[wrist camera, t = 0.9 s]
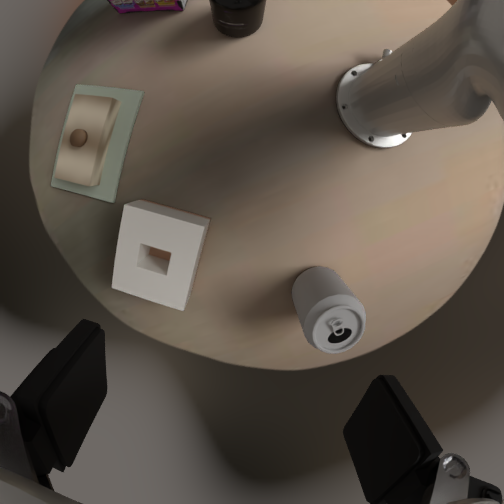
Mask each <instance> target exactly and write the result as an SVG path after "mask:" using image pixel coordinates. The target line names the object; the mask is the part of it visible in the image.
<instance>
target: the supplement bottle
mask: <svg viewBox="0 0 504 504" xmlns="http://www.w3.org/2000/svg"><path fill="white" fill-rule="evenodd" d="M209 1H210V6H211V11H212V16H213V21H214V25H215V27H216V28H217V29H218V30H219V31H220V32H221V33H223V34H225V35H227V36H231V37H244V36H248V35H251V34H253V33H254V32H256V31H257V30H258V29H259V28H260V26H261V24H262V21H263V16H264V10H265V4H266V0H209Z"/></svg>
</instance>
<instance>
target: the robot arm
mask: <svg viewBox="0 0 504 504" xmlns="http://www.w3.org/2000/svg"><path fill="white" fill-rule="evenodd" d="M352 74H353V75H352ZM491 101H493V103H494V105H495V106H496V108H497V110H498V112H499V114H500V116H501V117H502V119H503V120H504V0H458V1H457V2H456V3H455V4H454V5H453V6H452V7H451V8H450V9H449V10H448V11H447V12H446V13H445V14H444V15H443V16H442V17H441V18H439V19H438V20H437V21H436V22H435V23H433V24H432V25H430V26H429V27H428V28H426V29H425V30H424V31H422V32H421V33H419V34H418V35H416V36H415V37H414V38H412V39H411V40H409V41H408V42H406V43H405V44H404V45H402V46H401V47H399V48H398V49H396V50H395V51H393V52H392V51H391V50H388V49H384V51H383V55H382V60H379V61H378V62H377V63H375V64H361V65H357V66H355V67H353V68H351V69H350V70H349V71H347V72H346V73H345V74H344V75H343V77H342V78H341V80H340V82H339V83H338V87H337V90H336V103H337V109H338V112H339V115H340V117H341V119H342V121H343V123H344V124H345V126H346V127H347V129H348V130H349V131H350V132H351V133H352V134H353V135H354V136H355V137H356V138H357V139H359V140H360V141H362V142H363V143H365V144H367V145H370V146H373V147H376V148H391V147H395V146H398V145H400V144H402V143H404V142H405V141H406V140H407V139H408V138H409V137H410V135H411V134H412V132H419V131H425V130H432V129H439V128H447V127H455V126H463V125H468V124H471V123H473V122H475V121H477V120H478V119H479V118H480V117H482V115H483V114H484V113H485V112H486V110H487V109H488V107H489V105H490V103H491ZM342 106H343V107H344V109H343V108H342ZM368 138H370V141H369V139H368ZM106 394H107V378H106V360H105V333H104V330H102V329H101V328H100V325H99V324H98V323H95V322H92V321H89V320H86V319H83V320H81V321H80V322H79V324H77V325H76V327H75V328H74V329H73V330H72V331H71V332H70V333H69V334H68V335H67V336H66V337H65V338H64V339H63V341H62V342H61V343H60V344H59V345H58V346H57V347H56V348H53V349H52V350H51V351H49V353H48V354H47V355H46V356H45V357H44V358H43V359H42V360H41V362H40V363H39V364H38V365H37V366H36V367H35V368H34V369H33V371H32V372H31V373H30V374H29V375H28V376H27V377H26V379H25V380H24V381H23V382H22V384H21V385H20V386H19V387H18V388H17V389H16V391H15V392H14V393H13V394H12V395H11V397H10V396H8V395H7V394H5V393H3V392H1V391H0V504H82V503H79V502H77V501H75V500H72V499H70V498H68V497H65V496H63V495H61V494H59V493H57V492H55V491H54V489H53V486H52V484H51V481H50V478H49V475H48V474H49V473H50V472H51V470H52V468H55V469H57V470H59V471H61V472H64V470H65V467H66V466H67V467H71V465H72V464H73V462H74V460H75V457H76V455H77V453H78V451H79V449H80V447H81V445H82V443H83V441H84V439H85V437H86V434H87V432H88V430H89V428H90V426H91V424H92V422H93V420H94V418H95V416H96V414H97V412H98V411H99V409H100V406H101V405H102V403H103V401H104V399H105V397H106ZM343 434H344V438H345V441H346V444H347V446H348V449H349V452H350V455H351V457H352V460H353V463H354V466H355V469H356V472H357V475H358V478H359V481H360V483H361V486H362V489H363V492H364V495H365V498H366V500H367V501H368V502H369V503H370V504H504V500H502V495H501V491H500V489H499V488H498V487H496V486H494V485H492V484H490V483H487V482H484V481H481V480H479V479H477V478H474V477H471V476H470V468H469V465H468V463H467V462H466V461H465V459H464V458H462V457H461V456H459V455H457V454H454V453H448V454H445V455H444V456H443V457H442V458H441V459H440V458H439V457H438V456H439V455H440V453H441V452H442V451H443V449H442V448H441V446H440V444H439V443H438V441H437V440H436V438H435V436H434V435H433V433H432V432H431V430H430V429H429V427H428V425H427V424H426V422H425V421H424V419H423V418H422V417H421V415H420V413H419V412H418V410H417V409H416V407H415V405H414V404H413V402H412V401H411V400H410V398H409V397H408V395H407V393H406V392H405V390H404V389H403V387H402V386H401V385H400V383H399V382H398V380H397V379H396V377H395V376H393V375H379V376H378V377H377V378H376V379H374V380H373V381H372V382H371V384H370V386H369V388H368V389H367V391H366V393H365V395H364V396H363V398H362V400H361V401H360V403H359V405H358V406H357V408H356V410H355V411H354V413H353V414H352V416H351V417H350V419H349V420H348V422H347V423H346V425H345V427H344V430H343Z"/></svg>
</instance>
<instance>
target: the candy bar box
mask: <svg viewBox="0 0 504 504" xmlns="http://www.w3.org/2000/svg"><path fill="white" fill-rule="evenodd" d="M107 1H108V2H109V3H110V4H111V5H112V6H113V7H114V8H115V9H116V10H117V12H118V13H130V12H142V11H166V10H179V11H183V10H184V8H185V6H186V3H187V1H188V0H107Z"/></svg>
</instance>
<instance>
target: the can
mask: <svg viewBox="0 0 504 504" xmlns="http://www.w3.org/2000/svg"><path fill="white" fill-rule="evenodd" d="M292 299H293V303H294V305H295V308H296V311H297V314H298V317H299V320H300V323H301V326H302V329H303V332H304V335H305V337H306V339H307V341H308V342H309V343H310V344H311V345H312V346H313V347H315V348H317V349H319V350H321V351H323V352H326V353H335V354H336V353H340V352H344V351H346V350H348V349H350V348H352V347H353V346H354V345H355V344H356V343H357V342H358V341H359V340H360V338H361V337H362V335H363V333H364V330H365V322H366V312H365V310H364V307H363V305H362V304H361V302H360V301H359V300H358V299H357V297H356V296H355V295H354V294H353V292H352V291H351V290H350V289H349V287H348V286H347V285H346V284H345V283H344V281H343V280H342V279H341V278H340V276H339V275H338V274H337V273H336V272H335V271H334V270H332V269H330V268H327V267H321V266H318V267H313V268H310V269H308V270H306V271H304V272H303V273H302V274H300V275H299V276H298V277H297V279H296V281H295V282H294V284H293V288H292Z"/></svg>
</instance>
